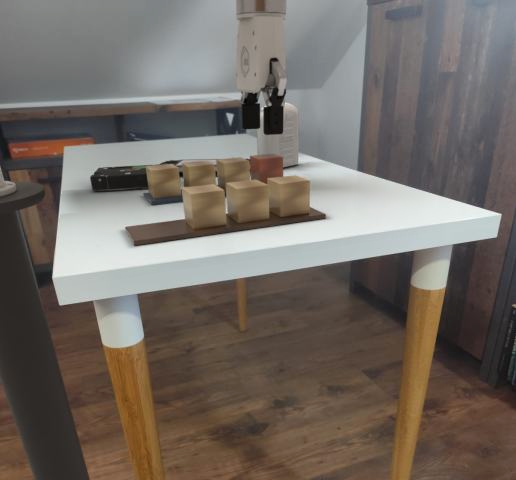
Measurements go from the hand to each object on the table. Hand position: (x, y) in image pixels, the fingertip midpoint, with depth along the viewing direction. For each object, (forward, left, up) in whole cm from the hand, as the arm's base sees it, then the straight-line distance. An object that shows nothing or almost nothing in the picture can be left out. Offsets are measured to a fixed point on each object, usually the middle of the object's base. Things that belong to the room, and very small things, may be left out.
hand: (261, 131), depth 82 cm
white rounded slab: (+10, +17, -9) cm, 22 cm away
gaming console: (-4, +19, -9) cm, 22 cm away
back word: (-8, 0, -9) cm, 12 cm away
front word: (-13, -20, -9) cm, 26 cm away
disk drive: (-20, +15, -9) cm, 26 cm away
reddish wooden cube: (+1, 0, -8) cm, 8 cm away
